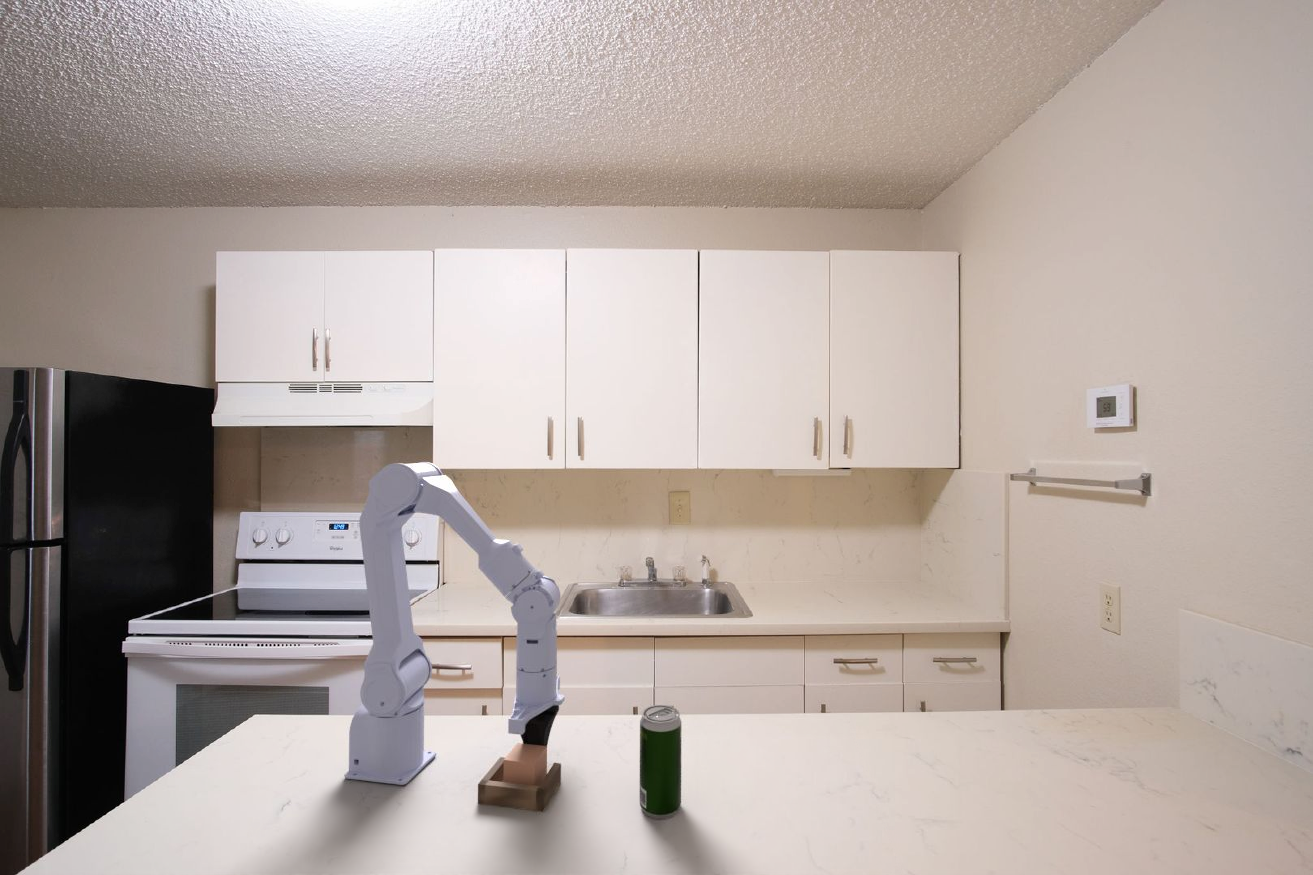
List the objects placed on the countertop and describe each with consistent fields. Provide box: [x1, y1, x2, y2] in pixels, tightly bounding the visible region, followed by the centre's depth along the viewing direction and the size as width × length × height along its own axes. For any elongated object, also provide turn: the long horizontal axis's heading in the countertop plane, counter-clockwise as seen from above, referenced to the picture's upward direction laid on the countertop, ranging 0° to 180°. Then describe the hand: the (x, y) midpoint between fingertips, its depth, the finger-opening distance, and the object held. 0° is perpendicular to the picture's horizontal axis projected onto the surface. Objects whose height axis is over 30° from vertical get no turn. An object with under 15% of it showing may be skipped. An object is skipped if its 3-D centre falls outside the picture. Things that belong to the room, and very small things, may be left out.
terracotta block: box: [502, 742, 548, 786], centre depth 77 cm, size 4×4×4 cm
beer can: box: [639, 704, 682, 820], centre depth 73 cm, size 5×5×12 cm
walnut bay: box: [477, 756, 562, 812], centre depth 75 cm, size 9×6×2 cm
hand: (535, 760), depth 81 cm, fingers closed
